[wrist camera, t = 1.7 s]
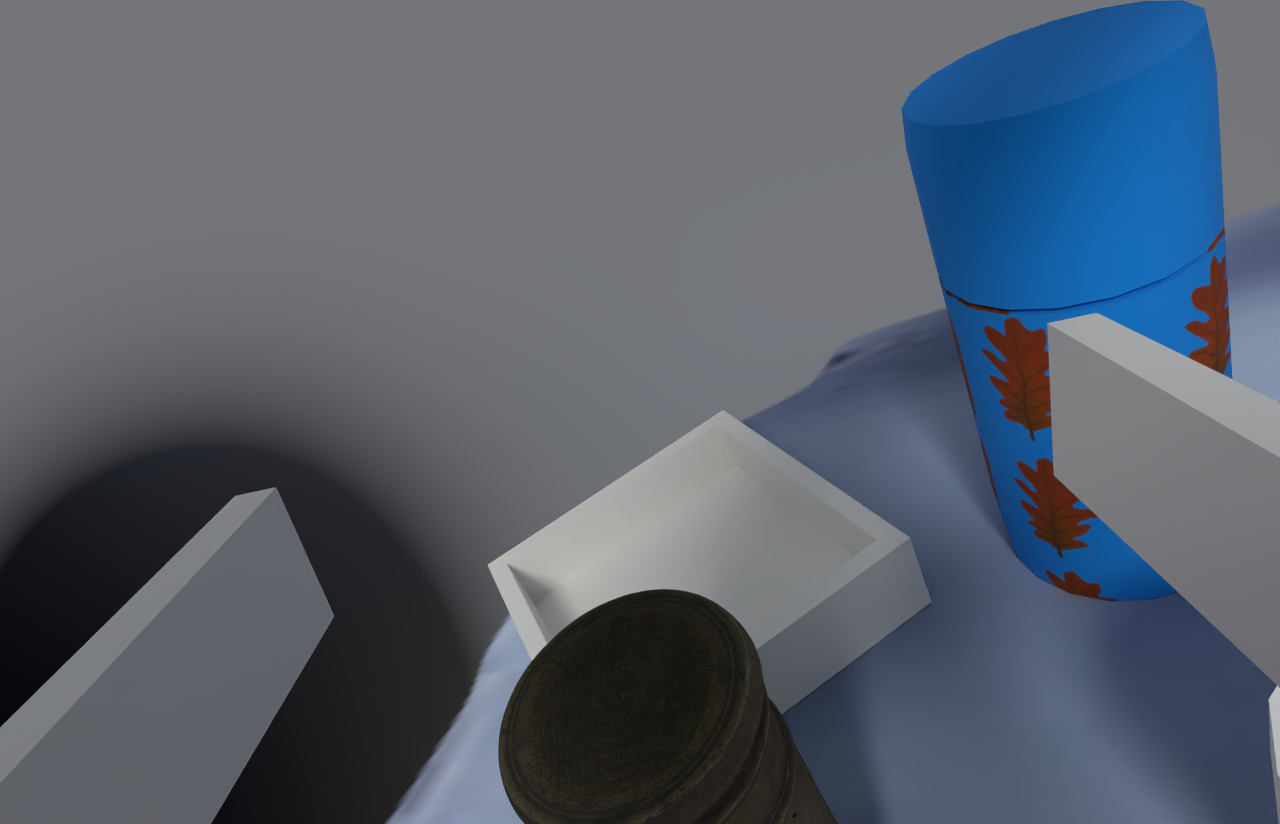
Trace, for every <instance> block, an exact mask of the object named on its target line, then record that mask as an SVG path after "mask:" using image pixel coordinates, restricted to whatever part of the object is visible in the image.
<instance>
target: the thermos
mask: <svg viewBox="0 0 1280 824" xmlns="http://www.w3.org/2000/svg"><path fill="white" fill-rule="evenodd" d="M902 116H903V124H904V132H905V141H906V150H907V154H908V158H909V162H910V166H911V169H912V173H913V178H914V181H915V185H916V189H917V193H918V197H919V201H920V205H921V209H922V213H923V217H924V221H925V224H926V228H927V233H928V236H929V240H930V244H931V248H932V252H933V256H934V260H935V264H936V268H937V271H938V274H939V280H940V283H941V288H942V291H943V295H944V299H945V303H946V307H947V311H948V315H949V319H950V323H951V327H952V331H953V335H954V339H955V343H956V347H957V350H958V354H959V358H960V362H961V366H962V370H963V374H964V378H965V382H966V386H967V390H968V394H969V398H970V402H971V405H972V409H973V413H974V417H975V421H976V425H977V429H978V433H979V437H980V441H981V445H982V449H983V453H984V457H985V460H986V464H987V468H988V472H989V476H990V480H991V484H992V487H993V490H994V493H995V496H996V499H997V502H998V505H999V508H1000V511H1001V514H1002V517H1003V520H1004V523H1005V525H1006V528H1007V531H1008V534H1009V537H1010V540H1011V542H1012V545H1013V548H1014V551H1015V553H1016V556H1017V558H1018V559H1019V560H1020V561H1021V562H1022V563H1023V564H1024V565H1025V566H1026V567H1027V568H1029V569H1030V570H1031V571H1032V572H1033V573H1034V574H1035V575H1036V576H1037V577H1038V578H1039V579H1042V580H1044V581H1046V582H1048V583H1050V584H1052V585H1054V586H1056V587H1058V588H1060V589H1062V590H1064V591H1066V592H1069V593H1071V594H1076V595H1082V596H1087V597H1092V598H1097V599H1103V600H1108V601H1121V600H1142V599H1155V598H1158V597H1161V596H1165V595H1168V594H1171V593H1174V592H1177V591H1176V590H1175V589H1174V588H1173V587H1172V586H1171V585H1170V584H1169V583H1168V582H1167V581H1166V580H1165V579H1164V578H1162V577H1161V576H1160V575H1159V574H1158V573H1157V572H1156V571H1155V570H1154V569H1153V568H1152V567H1151V566H1150V565H1149V564H1148V563H1147V562H1145V561H1144V560H1143V559H1142V558H1141V557H1140V556H1139V555H1138V554H1137V553H1136V552H1135V551H1134V550H1133V549H1132V548H1131V547H1129V546H1128V545H1127V544H1126V543H1125V542H1124V541H1123V540H1122V539H1121V538H1120V537H1119V536H1118V535H1117V534H1116V533H1115V532H1114V531H1112V530H1111V529H1110V528H1109V527H1108V526H1107V525H1106V524H1105V523H1104V522H1103V521H1102V520H1101V519H1100V518H1099V517H1098V516H1097V515H1095V514H1094V513H1093V512H1092V511H1091V510H1090V509H1089V508H1088V507H1087V506H1086V505H1085V504H1084V503H1083V502H1082V501H1081V500H1080V499H1078V498H1077V497H1076V496H1075V495H1074V494H1073V493H1072V492H1071V491H1070V490H1069V489H1068V488H1067V487H1066V486H1065V485H1064V484H1063V483H1061V482H1060V481H1059V480H1058V479H1057V478H1056V477H1055V476H1054V468H1053V444H1052V421H1051V397H1050V374H1049V350H1048V327H1047V323H1051V322H1056V321H1060V320H1065V319H1070V318H1075V317H1079V316H1084V315H1089V314H1093V313H1098V314H1100V315H1102V316H1104V317H1106V318H1109V319H1111V320H1113V321H1115V322H1117V323H1119V324H1121V325H1123V326H1125V327H1127V328H1129V329H1131V330H1133V331H1135V332H1137V333H1139V334H1141V335H1143V336H1145V337H1147V338H1149V339H1151V340H1153V341H1155V342H1157V343H1159V344H1162V345H1164V346H1166V347H1168V348H1170V349H1172V350H1174V351H1176V352H1178V353H1180V354H1182V355H1184V356H1186V357H1188V358H1190V359H1192V360H1194V361H1196V362H1198V363H1200V364H1202V365H1204V366H1206V367H1208V368H1210V369H1212V370H1215V371H1217V372H1219V373H1221V374H1223V375H1225V376H1227V377H1229V378H1231V379H1232V365H1231V345H1230V326H1229V306H1228V287H1227V267H1226V247H1225V231H1224V209H1223V189H1222V171H1221V150H1220V130H1219V112H1218V92H1217V73H1216V66H1215V59H1214V53H1213V48H1212V43H1211V39H1210V34H1209V29H1208V24H1207V19H1206V14H1205V11H1204V8H1202V7H1199V6H1196V5H1193V4H1190V3H1188V2H1185V1H1143V2H1137V3H1130V4H1124V5H1118V6H1112V7H1106V8H1100V9H1096V10H1092V11H1089V12H1085V13H1081V14H1077V15H1073V16H1069V17H1066V18H1062V19H1058V20H1054V21H1051V22H1048V23H1046V24H1043V25H1040V26H1037V27H1034V28H1031V29H1028V30H1025V31H1022V32H1020V33H1017V34H1014V35H1011V36H1008V37H1006V38H1004V39H1001V40H999V41H997V42H995V43H992V44H990V45H988V46H986V47H983V48H981V49H979V50H976V51H974V52H972V53H970V54H968V55H965V56H964V57H962V58H960V59H959V60H957V61H955V62H953V63H951V64H950V65H948V66H946V67H945V68H943V69H941V70H939V71H938V72H936V73H934V74H933V75H931V76H930V77H929V78H928V79H926V80H925V81H924V82H923V83H922V84H920V85H919V86H918V87H917V88H916V89H914V90H913V91H912V92H911V93H910V94H909V96H908V98H907V100H906V101H905V103H904V106H903V107H902Z"/></svg>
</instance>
